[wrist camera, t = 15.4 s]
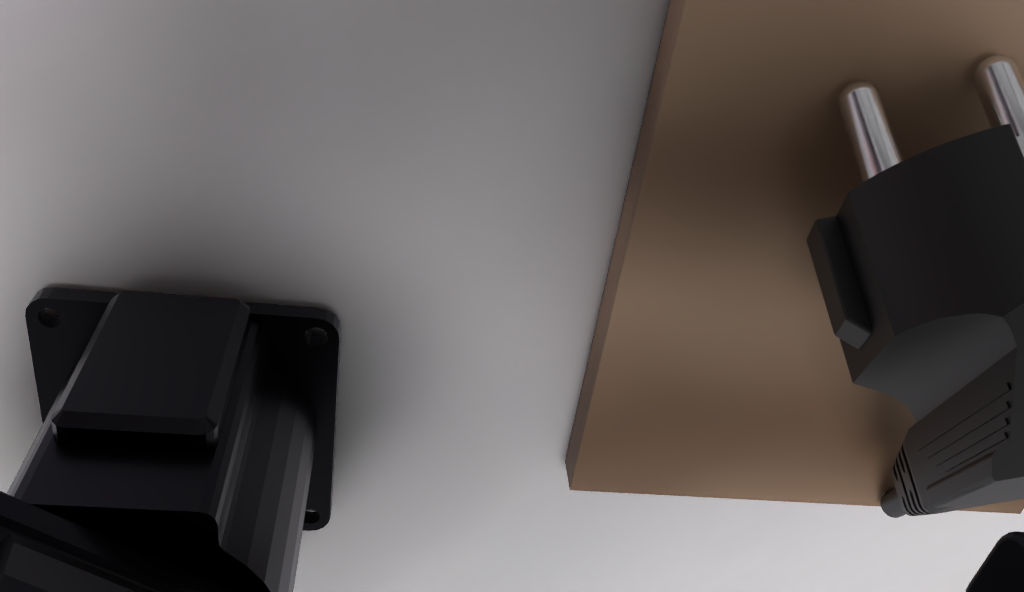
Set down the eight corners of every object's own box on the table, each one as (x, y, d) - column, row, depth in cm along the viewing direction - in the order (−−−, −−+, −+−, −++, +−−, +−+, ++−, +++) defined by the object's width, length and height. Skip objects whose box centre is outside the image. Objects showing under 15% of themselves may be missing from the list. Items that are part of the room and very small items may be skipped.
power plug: (791, 556, 24) (950, 469, 13) (720, 279, 27) (798, 5, 15) (1017, 517, 24) (1383, 393, 12) (923, 242, 26) (1152, -62, 15)
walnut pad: (1001, 486, 26) (1020, 513, 25) (564, 461, 24) (570, 489, 23) (1367, -160, 17) (1417, -152, 16) (730, -265, 16) (747, -262, 15)
